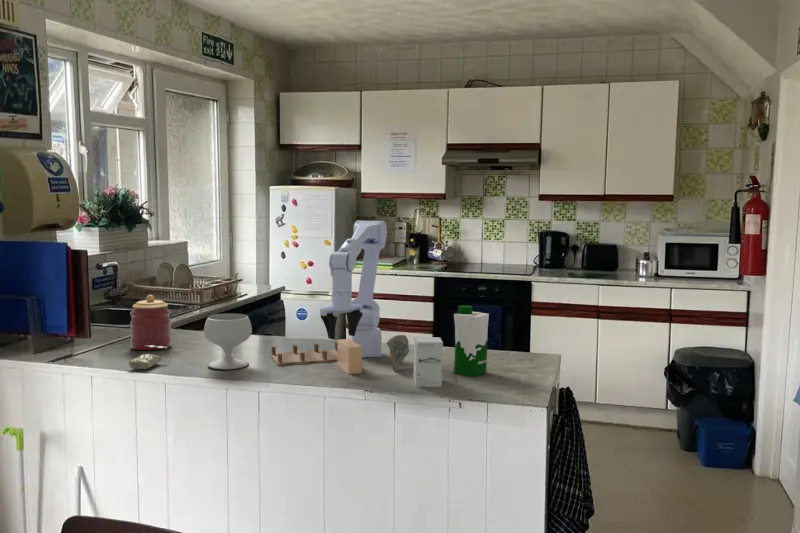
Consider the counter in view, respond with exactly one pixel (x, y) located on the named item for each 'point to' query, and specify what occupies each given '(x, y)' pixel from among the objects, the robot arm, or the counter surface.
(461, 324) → the milk carton
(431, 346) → the supplement box
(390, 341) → the ceramic fragment
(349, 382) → the counter surface
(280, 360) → the comb rack
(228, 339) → the chalice
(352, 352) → the tan rectangular block
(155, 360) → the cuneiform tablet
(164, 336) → the canister
